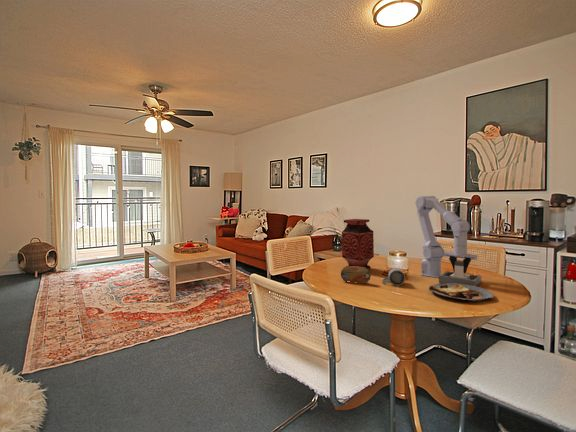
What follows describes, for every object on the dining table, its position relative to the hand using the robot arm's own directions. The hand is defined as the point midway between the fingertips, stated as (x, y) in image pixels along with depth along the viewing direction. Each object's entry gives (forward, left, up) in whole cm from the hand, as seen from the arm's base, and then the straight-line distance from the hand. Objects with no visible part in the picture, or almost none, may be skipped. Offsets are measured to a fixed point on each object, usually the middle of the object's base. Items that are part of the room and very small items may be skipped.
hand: (459, 272), depth 158 cm
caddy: (0, 0, -5) cm, 5 cm away
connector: (0, 0, -3) cm, 4 cm away
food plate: (+5, -20, -6) cm, 22 cm away
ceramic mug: (-24, -22, -6) cm, 33 cm away
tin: (-40, -32, -6) cm, 52 cm away
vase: (-55, -5, -6) cm, 56 cm away
